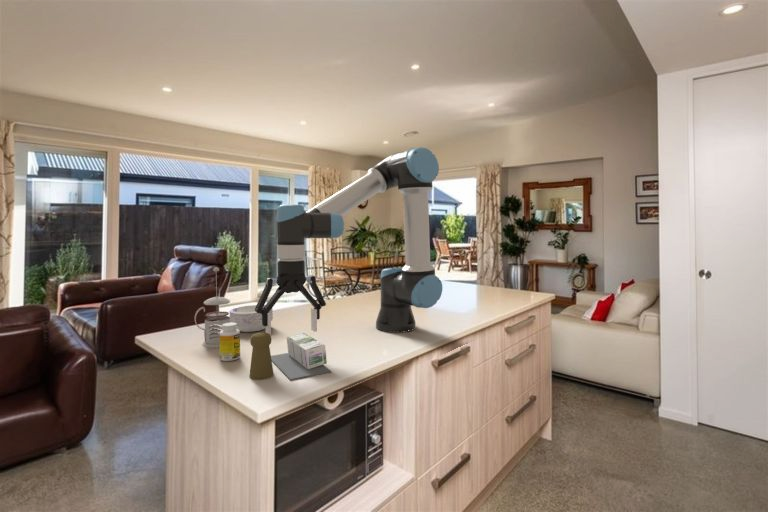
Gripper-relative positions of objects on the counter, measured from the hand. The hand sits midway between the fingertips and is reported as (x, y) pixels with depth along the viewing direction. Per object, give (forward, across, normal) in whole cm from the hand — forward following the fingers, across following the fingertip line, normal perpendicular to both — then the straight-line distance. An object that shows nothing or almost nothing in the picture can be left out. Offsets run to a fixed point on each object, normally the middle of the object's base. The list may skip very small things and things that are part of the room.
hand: (292, 333), depth 112 cm
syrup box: (+4, -2, -4) cm, 6 cm away
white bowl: (+8, +2, -41) cm, 42 cm away
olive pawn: (+8, +10, +7) cm, 15 cm away
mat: (+8, 0, +4) cm, 9 cm away
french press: (+8, +16, -29) cm, 34 cm away
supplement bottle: (+8, +15, -10) cm, 20 cm away
